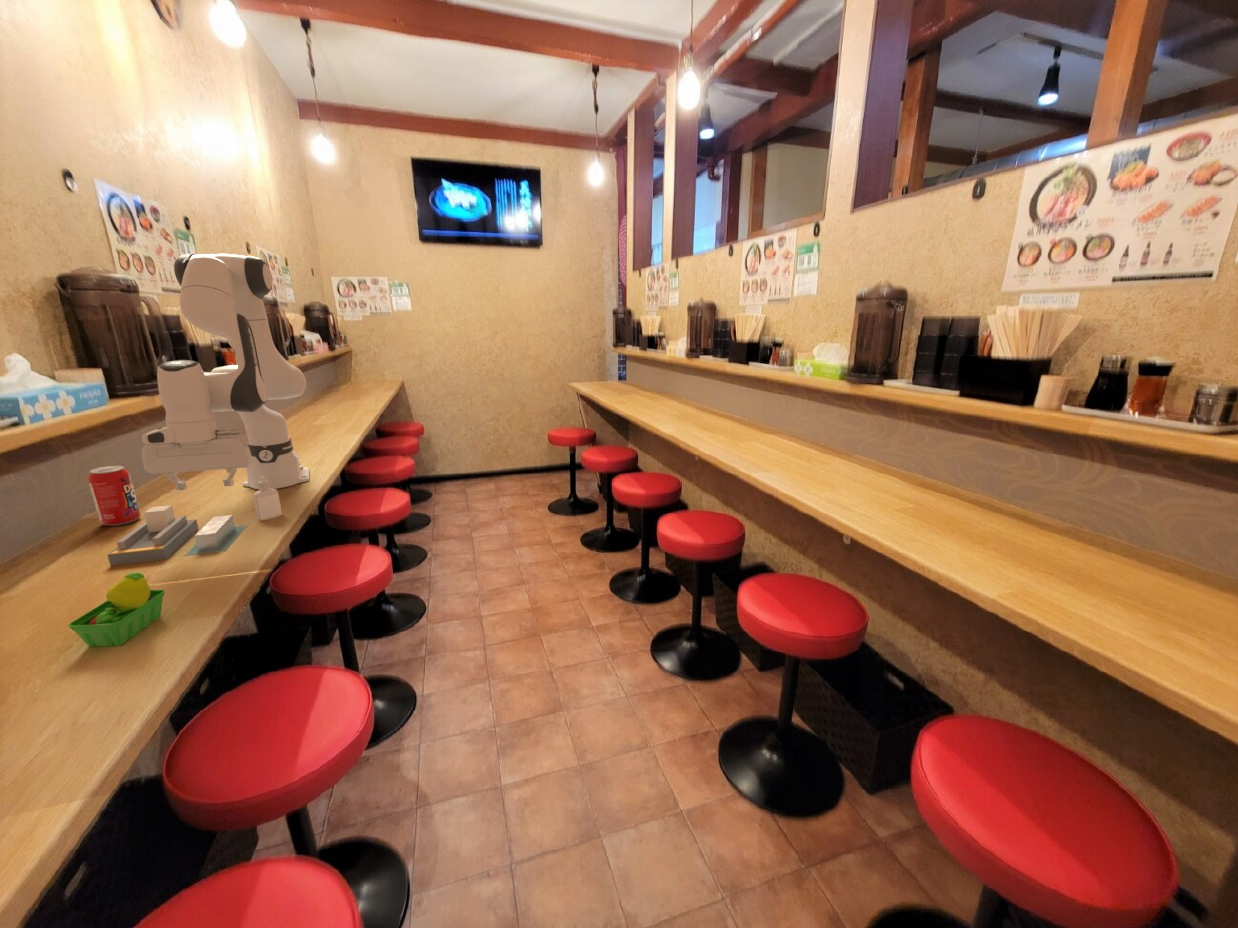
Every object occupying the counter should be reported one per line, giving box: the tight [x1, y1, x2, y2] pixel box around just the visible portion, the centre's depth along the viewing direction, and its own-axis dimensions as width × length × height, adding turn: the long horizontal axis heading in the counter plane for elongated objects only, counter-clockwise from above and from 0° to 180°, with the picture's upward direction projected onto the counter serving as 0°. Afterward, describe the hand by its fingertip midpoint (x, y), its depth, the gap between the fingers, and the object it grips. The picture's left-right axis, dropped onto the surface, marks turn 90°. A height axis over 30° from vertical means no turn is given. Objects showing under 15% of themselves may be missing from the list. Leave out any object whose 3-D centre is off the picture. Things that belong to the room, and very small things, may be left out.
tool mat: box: [184, 524, 248, 557], centre depth 125 cm, size 16×8×1 cm, turn 20°
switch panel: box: [107, 515, 199, 567], centre depth 121 cm, size 18×10×5 cm, turn 20°
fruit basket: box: [67, 572, 166, 648], centre depth 88 cm, size 11×9×11 cm
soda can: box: [87, 465, 142, 527], centre depth 133 cm, size 8×8×15 cm
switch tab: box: [143, 505, 176, 533], centre depth 123 cm, size 4×4×5 cm
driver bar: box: [194, 514, 236, 551], centre depth 125 cm, size 12×4×4 cm, turn 20°
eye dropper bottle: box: [252, 477, 283, 521], centre depth 138 cm, size 4×6×12 cm
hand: (205, 487), depth 121 cm, fingers open, 8 cm apart
